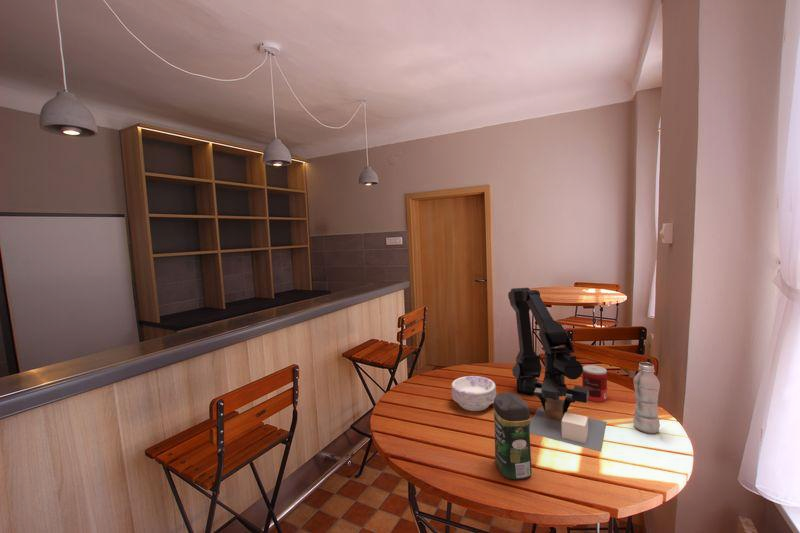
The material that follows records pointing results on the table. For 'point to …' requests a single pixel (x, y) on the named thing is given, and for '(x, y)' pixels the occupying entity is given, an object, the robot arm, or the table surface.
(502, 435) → the coffee jar
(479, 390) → the paper bowls
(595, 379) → the canned food
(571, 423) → the cream block
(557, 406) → the walnut block
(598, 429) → the build mat
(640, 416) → the plastic bottle
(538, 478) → the table surface
